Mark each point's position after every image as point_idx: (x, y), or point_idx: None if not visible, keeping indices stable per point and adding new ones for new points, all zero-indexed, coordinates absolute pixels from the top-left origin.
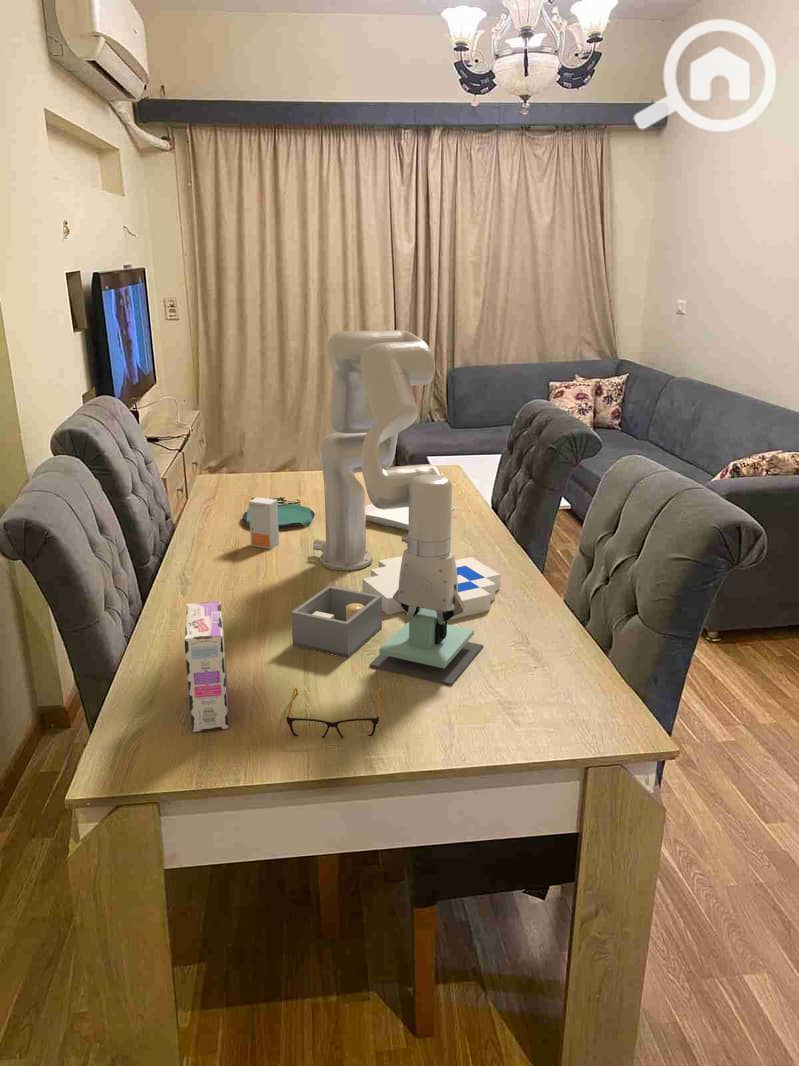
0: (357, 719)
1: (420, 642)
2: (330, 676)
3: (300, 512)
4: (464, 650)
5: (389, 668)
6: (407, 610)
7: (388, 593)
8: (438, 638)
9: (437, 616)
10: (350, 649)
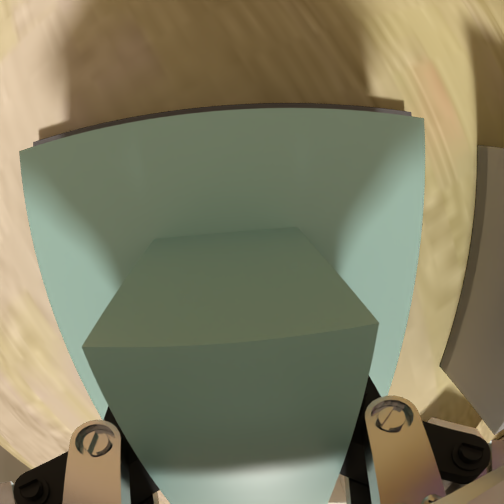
0: None
1: (214, 247)
2: (457, 21)
3: None
4: None
5: (326, 106)
6: (428, 439)
7: None
8: None
9: (115, 478)
10: (495, 166)
